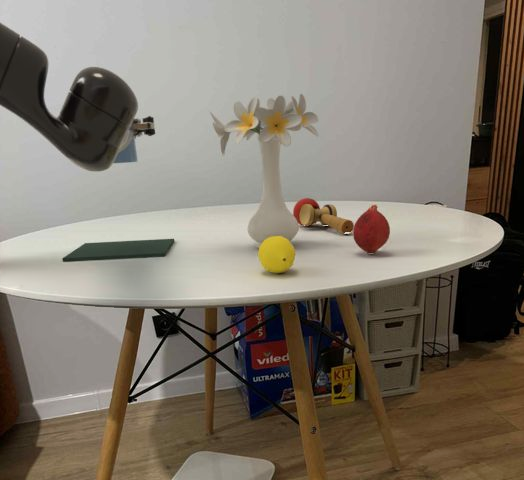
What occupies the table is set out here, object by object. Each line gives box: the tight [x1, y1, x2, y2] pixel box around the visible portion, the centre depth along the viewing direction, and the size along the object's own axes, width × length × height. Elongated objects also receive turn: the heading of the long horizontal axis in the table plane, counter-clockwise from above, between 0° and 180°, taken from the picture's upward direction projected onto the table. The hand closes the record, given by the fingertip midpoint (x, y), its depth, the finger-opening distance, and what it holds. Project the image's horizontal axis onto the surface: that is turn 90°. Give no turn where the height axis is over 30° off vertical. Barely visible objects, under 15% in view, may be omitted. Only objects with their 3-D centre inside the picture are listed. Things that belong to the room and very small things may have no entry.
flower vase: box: [209, 93, 319, 249], centre depth 87 cm, size 13×18×25 cm
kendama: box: [292, 197, 355, 234], centre depth 106 cm, size 8×6×18 cm
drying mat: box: [62, 238, 175, 262], centre depth 95 cm, size 18×14×1 cm
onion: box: [352, 203, 391, 254], centre depth 81 cm, size 6×6×8 cm
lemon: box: [257, 236, 296, 274], centre depth 73 cm, size 7×5×5 cm
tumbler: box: [113, 139, 138, 164], centre depth 84 cm, size 7×7×12 cm
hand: (113, 129), depth 86 cm, fingers closed on tumbler, 7 cm apart
